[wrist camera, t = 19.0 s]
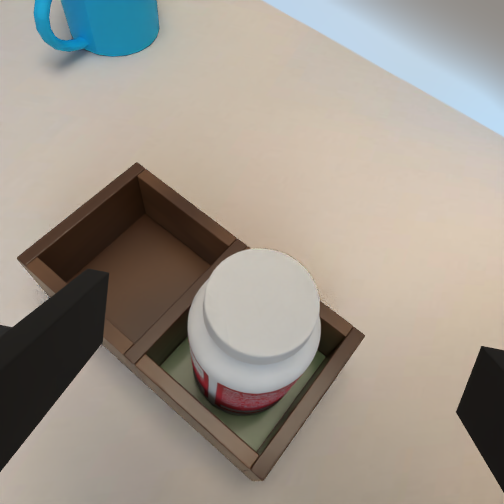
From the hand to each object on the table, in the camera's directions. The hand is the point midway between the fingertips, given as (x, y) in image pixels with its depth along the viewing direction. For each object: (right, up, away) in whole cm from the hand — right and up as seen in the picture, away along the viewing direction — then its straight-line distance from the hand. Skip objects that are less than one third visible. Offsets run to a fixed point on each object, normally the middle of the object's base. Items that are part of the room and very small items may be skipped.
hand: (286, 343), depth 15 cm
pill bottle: (-2, -4, +12) cm, 13 cm away
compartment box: (-5, -2, +14) cm, 15 cm away
